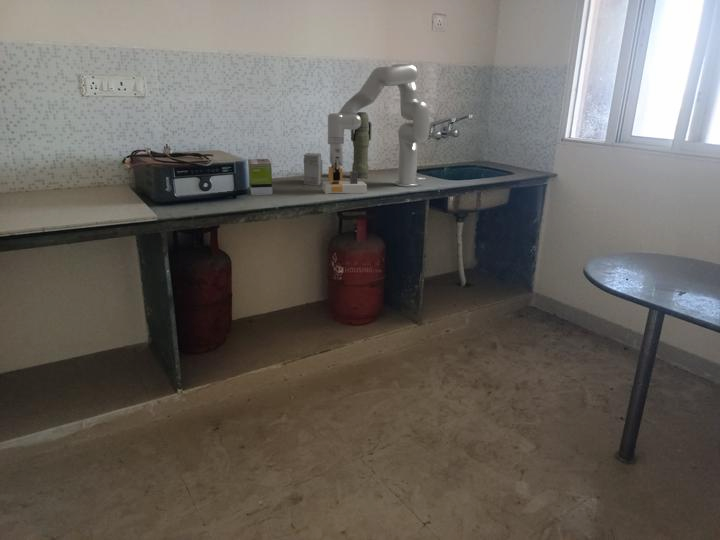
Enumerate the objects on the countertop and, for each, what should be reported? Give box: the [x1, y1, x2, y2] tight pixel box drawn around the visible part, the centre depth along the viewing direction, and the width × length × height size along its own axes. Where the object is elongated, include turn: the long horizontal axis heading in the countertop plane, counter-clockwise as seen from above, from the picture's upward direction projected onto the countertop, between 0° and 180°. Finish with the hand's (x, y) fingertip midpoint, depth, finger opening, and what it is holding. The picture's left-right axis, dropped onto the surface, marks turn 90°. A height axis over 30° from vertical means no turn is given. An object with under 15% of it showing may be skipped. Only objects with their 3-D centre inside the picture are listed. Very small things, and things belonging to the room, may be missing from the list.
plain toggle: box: [349, 170, 358, 184], centre depth 255 cm, size 3×3×7 cm
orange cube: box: [328, 166, 343, 182], centre depth 252 cm, size 6×6×6 cm
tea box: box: [247, 158, 273, 196], centre depth 247 cm, size 15×10×15 cm, turn 14°
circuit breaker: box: [303, 152, 323, 186], centre depth 274 cm, size 8×14×15 cm, turn 174°
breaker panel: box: [322, 180, 368, 195], centre depth 255 cm, size 20×10×4 cm, turn 102°
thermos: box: [350, 111, 373, 179], centre depth 289 cm, size 9×12×35 cm
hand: (335, 178), depth 253 cm, fingers closed on orange cube, 5 cm apart
